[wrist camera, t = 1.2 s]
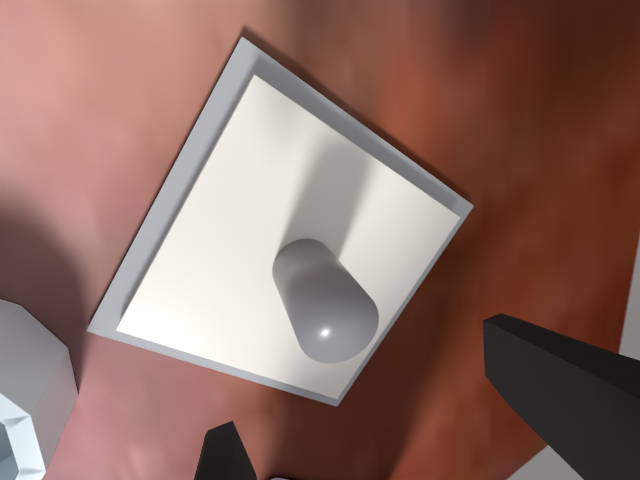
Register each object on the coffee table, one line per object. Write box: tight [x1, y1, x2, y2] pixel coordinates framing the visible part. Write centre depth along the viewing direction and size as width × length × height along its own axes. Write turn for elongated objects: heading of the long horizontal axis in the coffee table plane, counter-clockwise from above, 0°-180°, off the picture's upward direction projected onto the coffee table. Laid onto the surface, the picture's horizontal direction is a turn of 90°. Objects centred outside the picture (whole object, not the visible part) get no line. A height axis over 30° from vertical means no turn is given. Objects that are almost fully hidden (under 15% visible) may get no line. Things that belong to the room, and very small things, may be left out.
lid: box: [116, 75, 460, 399], centre depth 15 cm, size 12×12×6 cm
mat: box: [86, 37, 473, 407], centre depth 18 cm, size 14×14×1 cm
